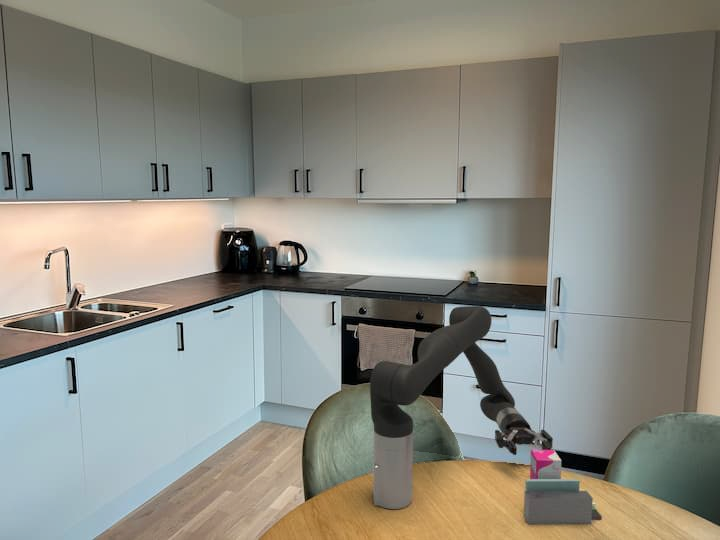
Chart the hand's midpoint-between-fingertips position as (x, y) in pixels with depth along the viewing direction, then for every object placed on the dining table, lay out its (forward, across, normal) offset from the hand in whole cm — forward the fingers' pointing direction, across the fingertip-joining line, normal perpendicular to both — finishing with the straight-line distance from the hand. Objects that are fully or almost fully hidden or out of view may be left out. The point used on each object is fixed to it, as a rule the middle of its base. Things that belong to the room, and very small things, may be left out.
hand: (532, 451), depth 134 cm
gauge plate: (+14, +2, +7) cm, 16 cm away
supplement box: (+10, 0, +8) cm, 12 cm away
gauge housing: (+14, +1, +8) cm, 16 cm away
